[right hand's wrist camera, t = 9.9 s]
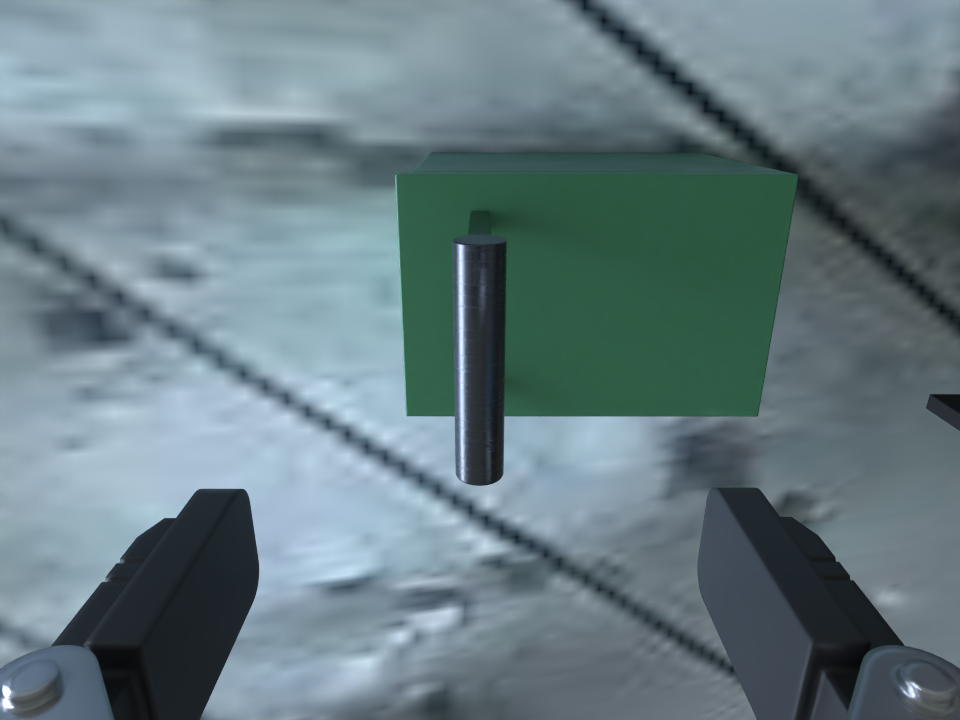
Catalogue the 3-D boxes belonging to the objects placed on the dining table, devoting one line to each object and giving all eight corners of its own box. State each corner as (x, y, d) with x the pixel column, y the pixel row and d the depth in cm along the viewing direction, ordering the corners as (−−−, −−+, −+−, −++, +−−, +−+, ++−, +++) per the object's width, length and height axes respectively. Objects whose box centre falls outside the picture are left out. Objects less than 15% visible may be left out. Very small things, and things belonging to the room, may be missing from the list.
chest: (434, 327, 37) (418, 404, 27) (429, 152, 33) (410, 171, 24) (679, 327, 37) (747, 404, 27) (699, 152, 33) (785, 171, 24)
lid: (408, 405, 27) (381, 517, 20) (398, 171, 24) (361, 201, 17) (747, 405, 27) (847, 517, 20) (785, 171, 24) (922, 202, 17)
